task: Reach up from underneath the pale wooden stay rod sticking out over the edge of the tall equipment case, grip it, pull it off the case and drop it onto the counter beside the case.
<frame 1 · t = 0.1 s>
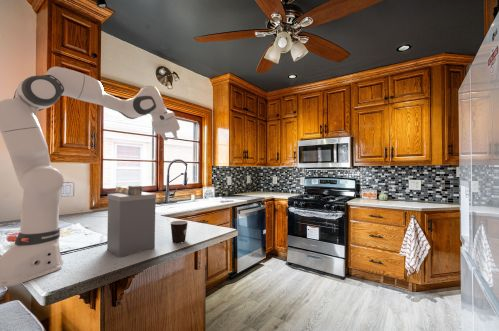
hand: (171, 139, 136), 54 cm above the countertop, tool tilted 30°, fingers open, 8 cm apart
case: (131, 248, 114), on the countertop
coffee mug: (176, 242, 125), on the countertop
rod: (132, 194, 114), point 26 cm above the countertop, touching case
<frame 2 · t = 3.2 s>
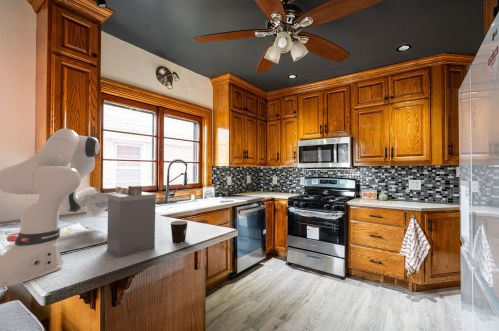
hand: (109, 192, 134), 24 cm above the countertop, tool pointing upward, fingers open, 8 cm apart
nothing on the countertop moved.
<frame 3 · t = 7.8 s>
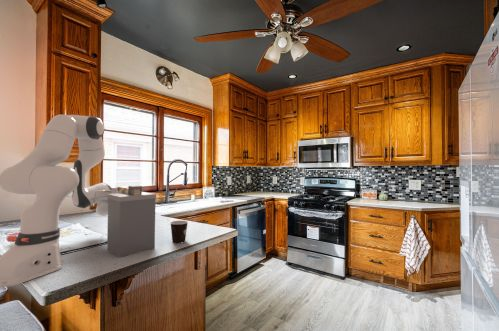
hand: (121, 188, 122), 28 cm above the countertop, tool pointing upward, fingers closed on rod, 3 cm apart
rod: (132, 194, 114), point 26 cm above the countertop, touching case, gripper
everything else where it was.
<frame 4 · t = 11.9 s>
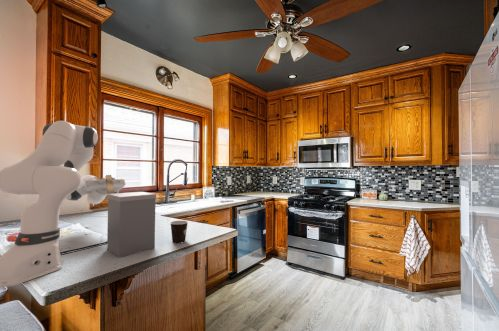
hand: (109, 178, 134), 32 cm above the countertop, tool pointing upward, fingers closed on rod, 3 cm apart
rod: (111, 203, 131), point 19 cm above the countertop, tilted 62°, touching gripper
everything else where it was.
when the fingers open (19 cm above the countertop, at t = 14.9 s): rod drops 6 cm, on the countertop.
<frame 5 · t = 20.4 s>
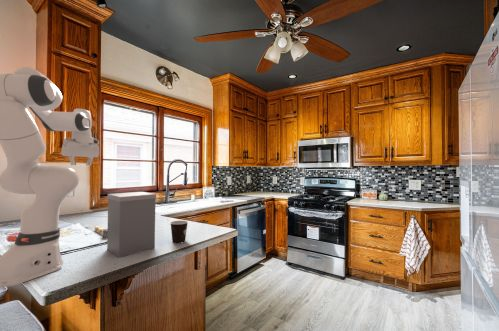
hand: (81, 165, 130), 39 cm above the countertop, tool pointing down, fingers open, 8 cm apart
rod: (106, 235, 135), on the countertop
everything else where it was.
at the end: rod touching countertop; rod on the countertop; the gripper is holding nothing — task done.
